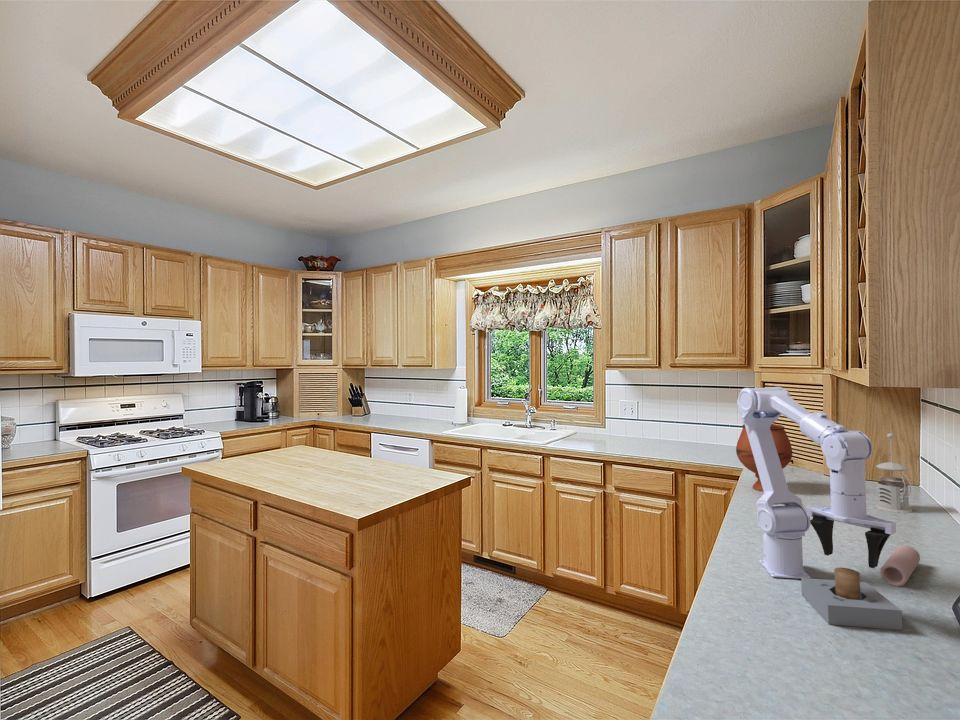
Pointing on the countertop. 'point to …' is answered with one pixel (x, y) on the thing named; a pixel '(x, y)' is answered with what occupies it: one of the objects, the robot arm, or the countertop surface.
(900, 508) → the french press
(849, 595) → the walnut pin
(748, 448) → the goblet
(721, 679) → the countertop surface
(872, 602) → the bore block
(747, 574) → the countertop surface
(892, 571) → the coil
